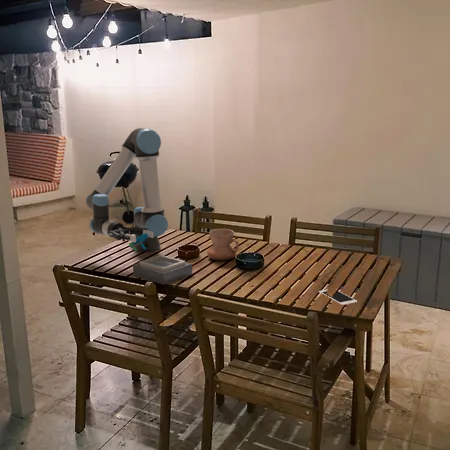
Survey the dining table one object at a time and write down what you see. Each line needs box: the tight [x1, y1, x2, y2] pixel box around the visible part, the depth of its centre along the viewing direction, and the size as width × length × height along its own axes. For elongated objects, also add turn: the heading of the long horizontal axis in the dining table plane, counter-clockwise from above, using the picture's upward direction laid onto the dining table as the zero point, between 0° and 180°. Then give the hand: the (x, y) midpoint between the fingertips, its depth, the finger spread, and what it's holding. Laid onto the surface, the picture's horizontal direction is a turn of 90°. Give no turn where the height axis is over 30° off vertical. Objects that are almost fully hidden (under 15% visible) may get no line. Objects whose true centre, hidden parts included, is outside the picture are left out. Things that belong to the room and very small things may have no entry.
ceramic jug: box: [206, 228, 240, 262], centre depth 251 cm, size 18×14×14 cm
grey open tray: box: [132, 254, 193, 286], centre depth 227 cm, size 18×20×6 cm
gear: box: [128, 233, 149, 252], centre depth 226 cm, size 11×6×10 cm
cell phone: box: [318, 289, 358, 306], centre depth 200 cm, size 8×16×1 cm, turn 24°
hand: (144, 237), depth 224 cm, fingers closed on gear, 9 cm apart
